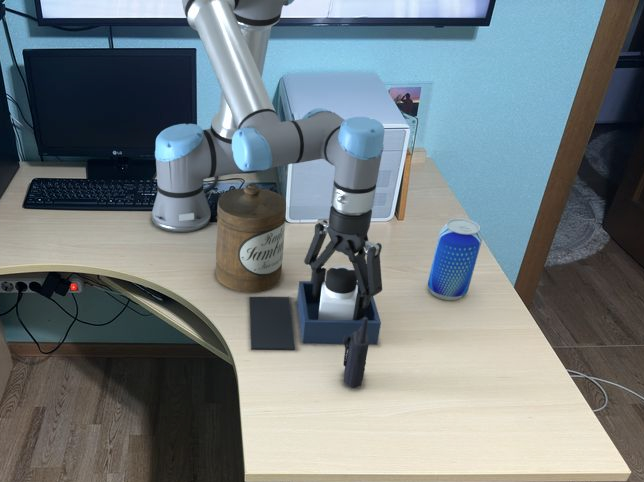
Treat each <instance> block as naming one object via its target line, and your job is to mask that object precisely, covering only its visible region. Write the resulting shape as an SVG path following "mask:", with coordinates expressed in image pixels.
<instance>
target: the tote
mask: <svg viewBox="0 0 644 482" xmlns="http://www.w3.org/2000/svg"><path fill="white" fill-rule="evenodd" d="M357 286H358V292H360V287H359V284H358V281H357ZM297 290H298V291H297V300H296V303H297V312H298V317H299V318H298V319H299V326H300V335H301V341H302V344H305V345H306V344H308V345H310V344H312V345H313V344H314V345H318V344H319V345H344V343H343V338H344V336H348V337H349V338H350V336H351V335H352V333H353V332H356V331H359V328H360V327H361V326H362V322H363V318H364V317H367V318H368V322H367V330H366V333H367V334H368V337H369V345H378V341H379V336H380V332H381V325H382V321H381V318H380V314H379V311H378V308H377V304H376V301H375V298H374V297H375V296H371V300H370V305H369V306H368V307H366V308H365V314H364V317H363V318H361V319H360V320H318V314H319V305H320V298H318V299H316V300H315V301H314V300H312V292H313V283H312V282H311V280H299V281H298V287H297Z"/></svg>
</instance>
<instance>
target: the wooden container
mask: <svg viewBox="0 0 644 482" xmlns="http://www.w3.org/2000/svg"><path fill="white" fill-rule="evenodd" d="M216 208H217V209H216V212H217V221H216V222H217V223H216V245H215V246H216V249H215V253H216V254H215V261H216V262H215V276H216V279H217V280H218V282H219V283H220V284H221V285H223V286H225V287H226V288H228V289H231V290H234V291H237V292H244V293H255V292H263V291H266V290H269V289H271V288H273V287H274V286H276V285H277V284H278V283H279V282H280V280H281V278H282V272H283V271H282V269H283V261H284V247H285V246H284V245H285V230H286V216H287V215H286V214H287V201H286V199H285V198H284V196H282V195H281V194H280V193H278V192H275V191H273V190H271V189H266V188H261V187H260V186H259V185H258V184H257V183H249V184H247V185H245V186H244V187H241V188H235V189H231V190H229V191H227V192H225V193H223V194H221V196H219V198H218V200H217V207H216Z"/></svg>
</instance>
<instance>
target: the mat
mask: <svg viewBox="0 0 644 482" xmlns="http://www.w3.org/2000/svg"><path fill="white" fill-rule="evenodd" d="M290 303H291V302H290V297H288V296H249V320H250V321H249V322H250V323H249V324H250V326H249V327H250V349H251V350H252V351H253V350H254V351H255V350H256V351H258V350H260V351H295V350H296V345H295V338H294V337H295V335H294V329H293V320H292V313H291V304H290Z"/></svg>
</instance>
